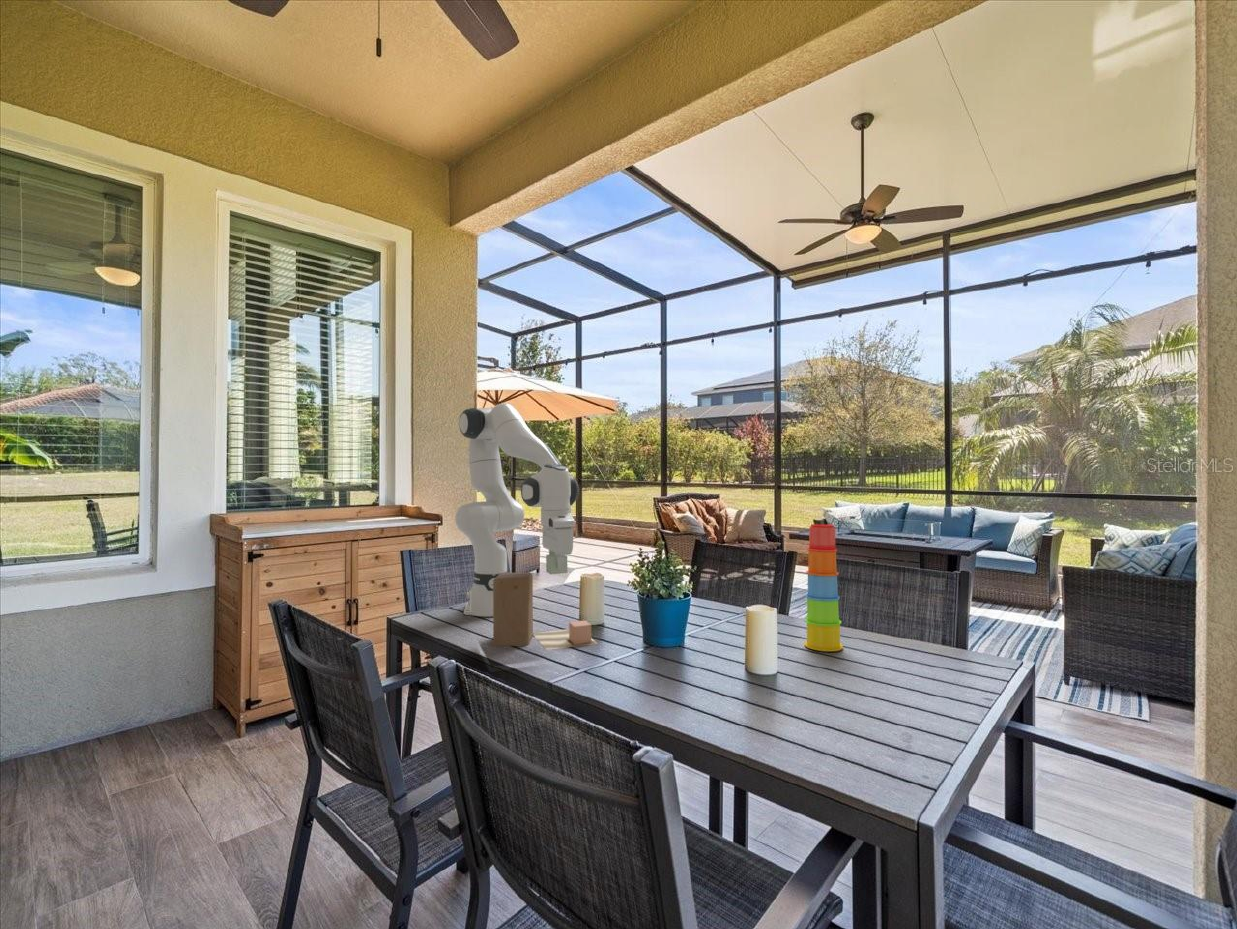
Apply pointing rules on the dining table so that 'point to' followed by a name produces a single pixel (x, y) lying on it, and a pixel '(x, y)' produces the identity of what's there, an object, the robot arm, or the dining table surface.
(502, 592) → the wooden block
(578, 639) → the terracotta block
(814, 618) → the stacking cups
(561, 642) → the birch base board
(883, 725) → the dining table surface
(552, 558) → the sage block
